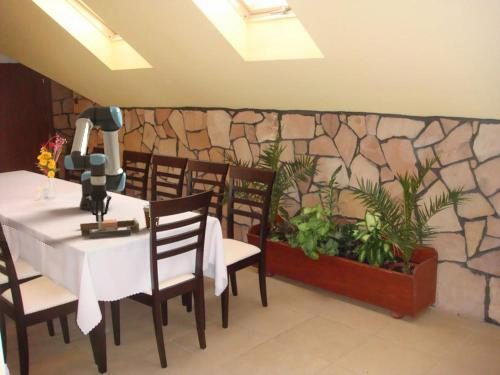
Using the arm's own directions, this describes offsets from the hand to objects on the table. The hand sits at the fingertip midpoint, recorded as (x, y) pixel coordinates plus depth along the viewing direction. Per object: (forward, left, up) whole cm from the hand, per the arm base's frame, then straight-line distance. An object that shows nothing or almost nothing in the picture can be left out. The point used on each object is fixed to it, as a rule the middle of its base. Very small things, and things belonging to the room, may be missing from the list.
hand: (100, 227), depth 275 cm
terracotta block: (0, +5, -2) cm, 5 cm away
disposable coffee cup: (+1, +27, -2) cm, 27 cm away
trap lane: (+3, +5, -2) cm, 6 cm away
